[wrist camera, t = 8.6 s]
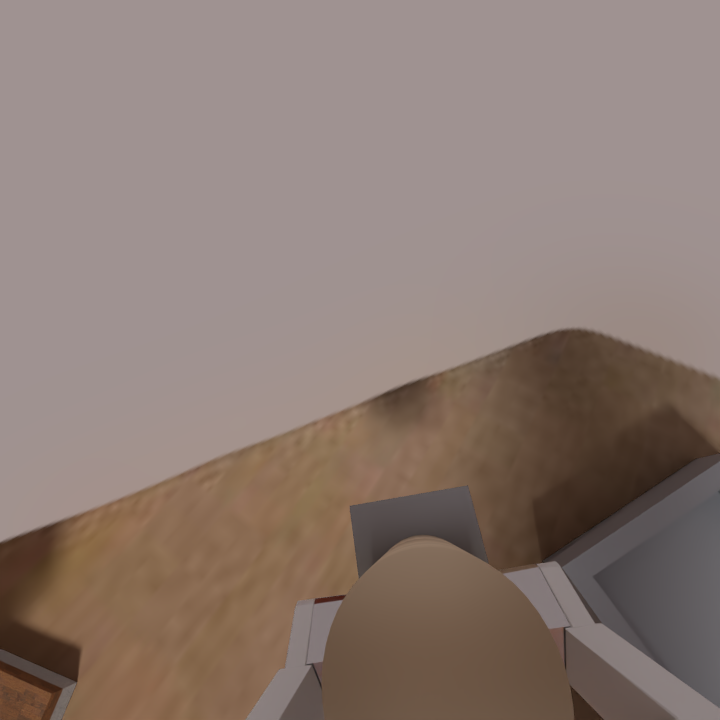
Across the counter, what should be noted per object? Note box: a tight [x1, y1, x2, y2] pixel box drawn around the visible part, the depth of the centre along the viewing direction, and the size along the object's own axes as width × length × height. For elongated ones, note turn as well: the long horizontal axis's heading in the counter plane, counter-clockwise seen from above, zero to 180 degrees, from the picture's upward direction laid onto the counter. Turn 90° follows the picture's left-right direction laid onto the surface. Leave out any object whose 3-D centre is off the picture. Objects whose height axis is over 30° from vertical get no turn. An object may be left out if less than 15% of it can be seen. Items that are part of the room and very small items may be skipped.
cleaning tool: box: [322, 486, 574, 720], centre depth 10 cm, size 7×5×10 cm
